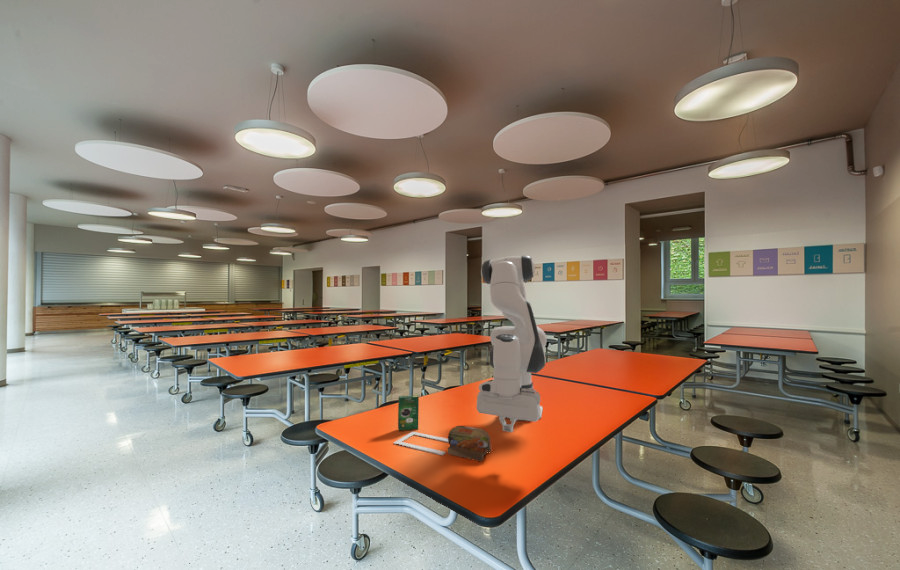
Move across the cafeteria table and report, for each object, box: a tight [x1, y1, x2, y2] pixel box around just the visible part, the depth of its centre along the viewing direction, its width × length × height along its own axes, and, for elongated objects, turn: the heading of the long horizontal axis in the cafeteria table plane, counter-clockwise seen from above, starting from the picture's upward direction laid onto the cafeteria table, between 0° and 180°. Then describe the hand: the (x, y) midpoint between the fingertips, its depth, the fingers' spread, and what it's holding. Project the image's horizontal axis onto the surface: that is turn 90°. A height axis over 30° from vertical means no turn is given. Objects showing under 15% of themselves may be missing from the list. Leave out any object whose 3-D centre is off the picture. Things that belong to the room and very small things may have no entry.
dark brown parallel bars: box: [447, 445, 492, 462], centre depth 115 cm, size 8×12×2 cm
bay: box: [393, 431, 449, 456], centre depth 124 cm, size 12×20×1 cm, turn 61°
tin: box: [447, 425, 492, 457], centre depth 115 cm, size 15×3×8 cm, turn 62°
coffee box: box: [397, 394, 420, 431], centre depth 138 cm, size 8×3×13 cm, turn 104°
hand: (507, 431), depth 108 cm, fingers closed
